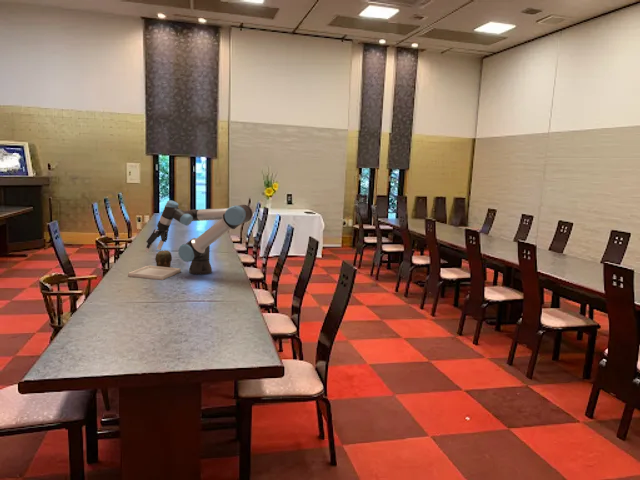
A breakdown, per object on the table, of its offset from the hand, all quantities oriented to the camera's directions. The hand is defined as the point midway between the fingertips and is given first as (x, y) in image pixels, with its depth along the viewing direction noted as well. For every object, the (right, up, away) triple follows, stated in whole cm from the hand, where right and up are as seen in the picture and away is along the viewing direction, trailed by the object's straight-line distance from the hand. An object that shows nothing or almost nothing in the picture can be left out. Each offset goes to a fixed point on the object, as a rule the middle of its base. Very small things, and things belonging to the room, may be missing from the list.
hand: (152, 250), depth 314 cm
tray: (+3, -15, -3) cm, 16 cm away
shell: (+2, -12, +17) cm, 21 cm away
